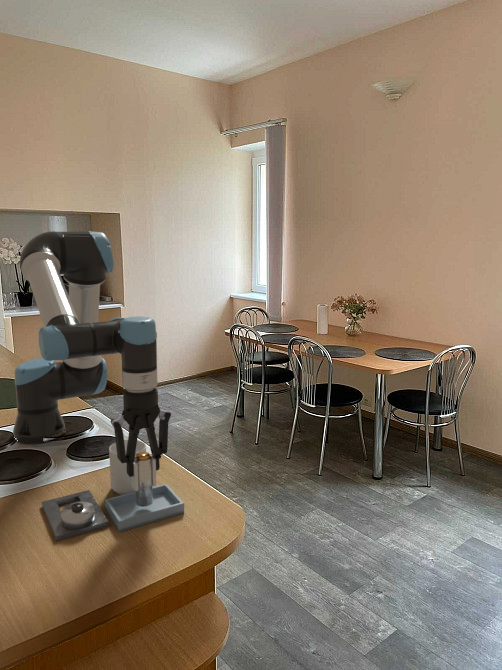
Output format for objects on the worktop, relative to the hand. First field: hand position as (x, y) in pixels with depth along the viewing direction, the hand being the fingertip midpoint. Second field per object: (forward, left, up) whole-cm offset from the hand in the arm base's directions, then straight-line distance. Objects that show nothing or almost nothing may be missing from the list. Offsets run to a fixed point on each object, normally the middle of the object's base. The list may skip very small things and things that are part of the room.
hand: (143, 485), depth 121 cm
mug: (-14, +1, -7) cm, 16 cm away
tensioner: (-6, -14, -6) cm, 17 cm away
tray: (0, 0, -6) cm, 6 cm away
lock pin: (0, 0, -4) cm, 4 cm away
